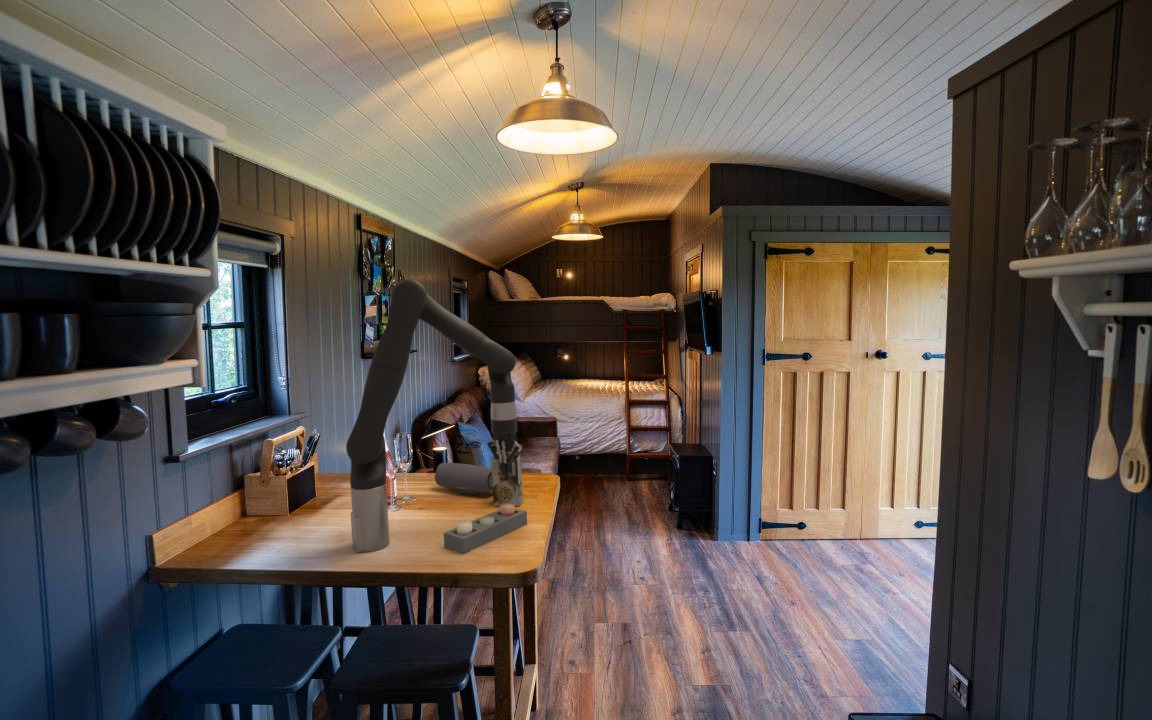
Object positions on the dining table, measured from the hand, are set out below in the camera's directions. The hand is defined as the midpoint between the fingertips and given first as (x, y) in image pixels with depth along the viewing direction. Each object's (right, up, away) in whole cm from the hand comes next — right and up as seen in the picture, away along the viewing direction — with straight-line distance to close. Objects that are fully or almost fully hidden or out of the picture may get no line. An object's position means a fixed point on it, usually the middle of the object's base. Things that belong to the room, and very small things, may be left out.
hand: (506, 474), depth 168 cm
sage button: (-5, -15, -6) cm, 17 cm away
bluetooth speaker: (-18, -14, +35) cm, 41 cm away
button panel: (-5, -16, -5) cm, 18 cm away
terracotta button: (0, -13, +1) cm, 13 cm away
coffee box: (-2, -14, +21) cm, 26 cm away
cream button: (-10, -14, -12) cm, 21 cm away
